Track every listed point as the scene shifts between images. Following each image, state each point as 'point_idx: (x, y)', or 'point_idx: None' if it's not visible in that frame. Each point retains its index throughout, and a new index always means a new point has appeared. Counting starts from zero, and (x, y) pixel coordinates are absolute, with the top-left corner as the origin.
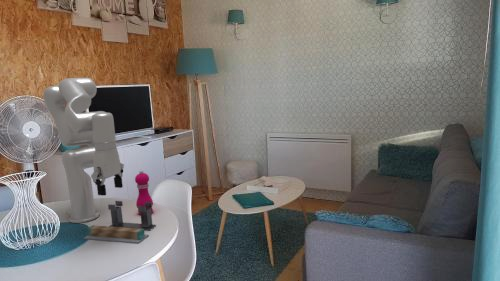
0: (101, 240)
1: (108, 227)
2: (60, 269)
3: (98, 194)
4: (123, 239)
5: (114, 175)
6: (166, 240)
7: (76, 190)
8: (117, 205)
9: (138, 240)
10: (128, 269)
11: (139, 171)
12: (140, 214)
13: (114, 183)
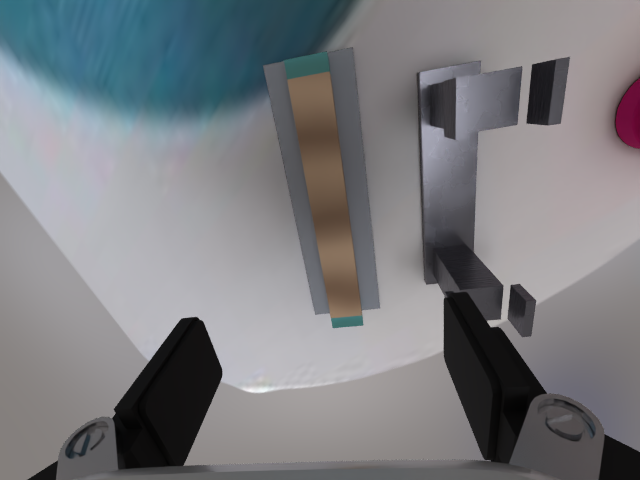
0: (285, 166)
1: (330, 172)
2: (78, 216)
3: (184, 322)
4: (315, 255)
5: (517, 440)
6: (365, 367)
7: None
8: (533, 82)
9: (326, 307)
10: None
11: None
12: (623, 104)
13: (460, 323)
